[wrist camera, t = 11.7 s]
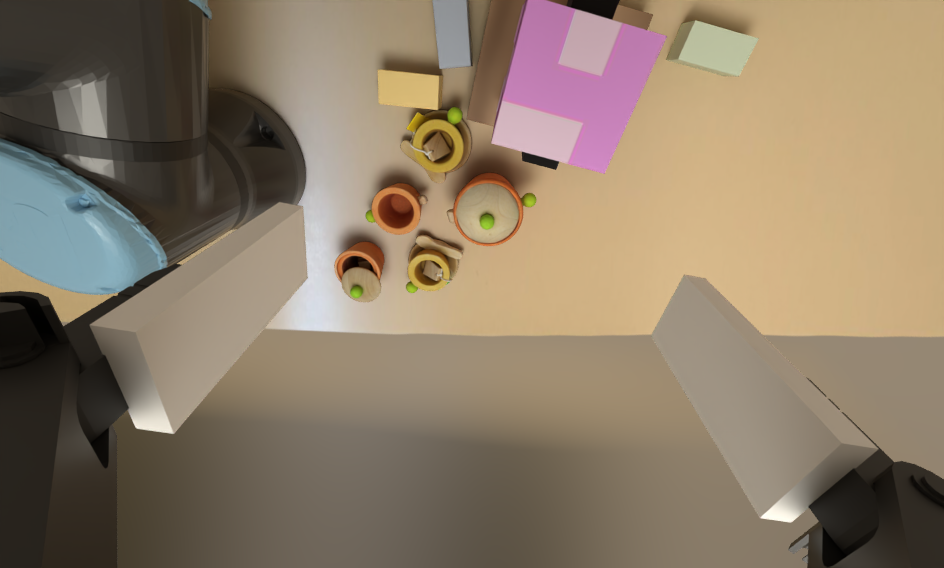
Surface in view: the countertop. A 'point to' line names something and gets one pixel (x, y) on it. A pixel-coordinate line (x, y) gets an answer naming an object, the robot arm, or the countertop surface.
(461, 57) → the brick slate
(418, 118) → the toy tea set
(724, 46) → the brick sage
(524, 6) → the toy
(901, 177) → the countertop surface
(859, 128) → the countertop surface
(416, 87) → the brick ochre
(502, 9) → the pedestal
